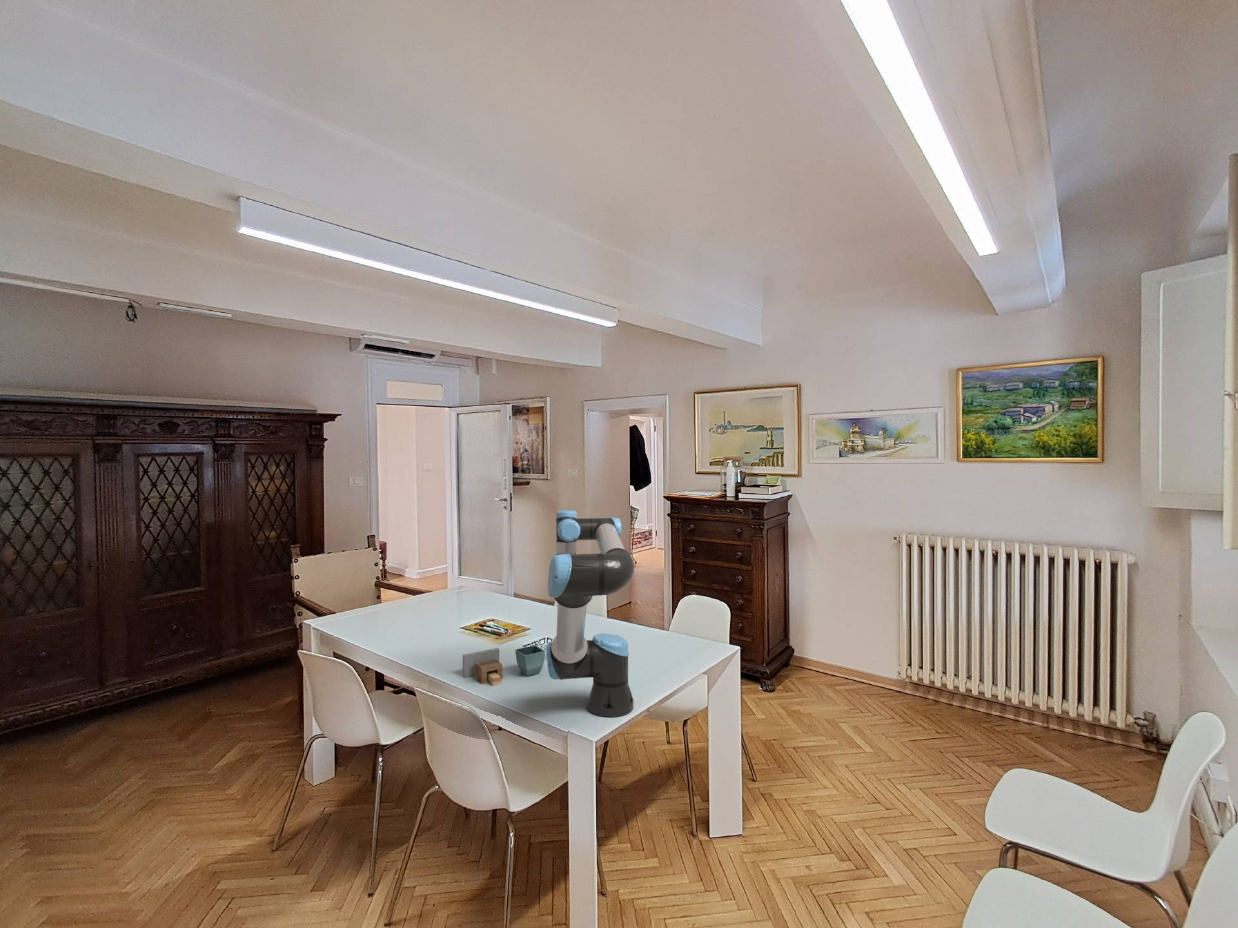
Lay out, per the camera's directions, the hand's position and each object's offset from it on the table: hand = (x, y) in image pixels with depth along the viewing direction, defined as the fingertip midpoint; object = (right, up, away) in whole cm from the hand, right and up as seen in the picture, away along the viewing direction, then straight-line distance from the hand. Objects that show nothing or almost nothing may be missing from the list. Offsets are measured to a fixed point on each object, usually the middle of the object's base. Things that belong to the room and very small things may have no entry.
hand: (566, 617), depth 207 cm
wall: (-34, -24, +12) cm, 44 cm away
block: (-30, -24, +7) cm, 39 cm away
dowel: (-28, -25, +4) cm, 38 cm away
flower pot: (-15, -25, +11) cm, 31 cm away
